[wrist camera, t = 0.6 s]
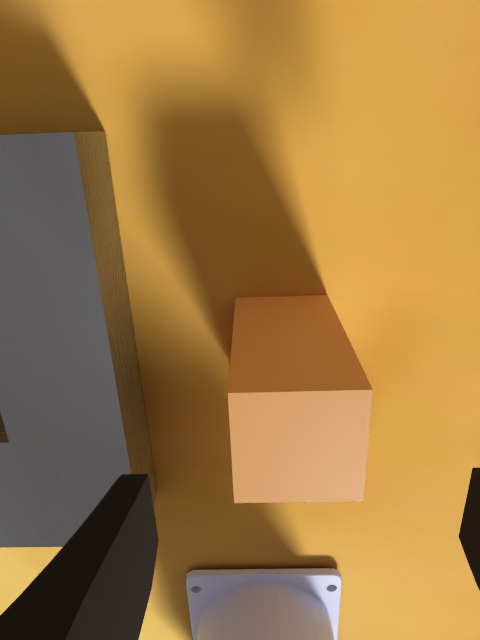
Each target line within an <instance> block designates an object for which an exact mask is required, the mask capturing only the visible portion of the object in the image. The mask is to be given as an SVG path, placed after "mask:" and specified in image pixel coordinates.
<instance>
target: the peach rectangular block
mask: <svg viewBox="0 0 480 640" xmlns="http://www.w3.org/2000/svg"><path fill="white" fill-rule="evenodd" d="M372 394H373V389H372V387H371V385H370V383H369V381H368V379H367V376H366V374H365V372H364V370H363V368H362V366H361V364H360V362H359V360H358V358H357V356H356V354H355V351H354V349H353V347H352V345H351V343H350V341H349V339H348V337H347V335H346V333H345V331H344V328H343V326H342V324H341V322H340V320H339V318H338V316H337V314H336V312H335V310H334V308H333V306H332V303H331V301H330V299H329V297H328V295H304V296H271V297H238V298H235V309H234V322H233V334H232V347H231V359H230V371H229V384H228V406H229V424H230V441H231V459H232V476H233V494H234V503H272V502H336V501H363V496H364V485H365V474H366V462H367V451H368V440H369V428H370V417H371V405H372Z"/></svg>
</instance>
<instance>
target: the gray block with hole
mask: <svg viewBox="0 0 480 640" xmlns="http://www.w3.org/2000/svg"><path fill="white" fill-rule="evenodd" d="M122 474H148V475H149V481H150V488H151V495H152V501H153V505H154V501H155V497H156V493H157V490H156V483H155V476H154V469H153V462H152V455H151V449H150V442H149V435H148V428H147V421H146V414H145V407H144V400H143V393H142V386H141V379H140V372H139V365H138V358H137V351H136V344H135V337H134V330H133V323H132V316H131V309H130V302H129V295H128V288H127V281H126V274H125V267H124V260H123V253H122V246H121V239H120V233H119V226H118V219H117V212H116V205H115V198H114V191H113V184H112V177H111V170H110V163H109V156H108V149H107V142H106V135H105V131H97V132H56V133H33V134H9V135H0V547H63V546H64V545H65V544H66V543H67V542H68V540H69V539H70V538H71V537H72V536H73V534H74V533H75V532H76V531H77V530H78V528H79V527H80V526H81V525H82V524H83V522H84V521H85V520H86V519H87V517H88V516H89V515H90V513H91V512H92V511H93V510H94V508H95V507H96V506H97V505H98V503H99V502H100V501H101V499H102V498H103V497H104V496H105V494H106V493H107V492H108V490H109V489H110V488H111V486H112V485H113V484H114V482H115V481H116V480H117V479H118V478H119V477H120V476H121V475H122Z"/></svg>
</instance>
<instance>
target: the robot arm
mask: <svg viewBox="0 0 480 640" xmlns="http://www.w3.org/2000/svg"><path fill="white" fill-rule="evenodd" d="M459 538H460V541H461V544H462V547H463V549H464V552H465V555H466V558H467V560H468V563H469V566H470V568H471V571H472V573H473V576H474V578H475V581H476V583H477V586H478V588H479V590H480V468H473V469H472V474H471V479H470V484H469V489H468V494H467V499H466V504H465V508H464V513H463V518H462V523H461V528H460V533H459ZM157 547H158V535H157V528H156V521H155V515H154V508H153V501H152V495H151V488H150V481H149V475H148V474H122V475H121V476H120V477H119V478H118V479H117V480H116V481H115V482H114V484H113V485H112V486H111V488H110V489H109V490H108V492H107V493H106V494H105V496H104V497H103V498H102V499H101V501H100V502H99V503H98V505H97V506H96V507H95V508H94V510H93V511H92V512H91V513H90V515H89V516H88V517H87V519H86V520H85V521H84V522H83V524H82V525H81V526H80V527H79V528H78V530H77V531H76V532H75V533H74V534H73V536H72V537H71V538H70V539H69V540H68V542H67V543H66V544H65V545H64V546H63V548H62V549H61V550H60V551H59V552H58V554H57V555H56V556H55V557H54V558H53V559H52V561H51V562H50V563H49V564H48V565H47V566H46V567H45V568H44V569H43V571H42V572H41V573H40V574H39V575H38V576H37V577H36V578H35V579H34V580H33V582H32V583H31V584H30V585H29V586H28V587H27V588H26V589H25V590H24V591H23V593H22V594H21V595H20V596H19V597H18V598H17V599H16V600H15V601H14V602H13V603H12V604H11V605H10V606H9V607H8V608H7V609H6V610H5V611H4V612H3V613H2V614H1V615H0V640H138V638H139V635H140V631H141V627H142V623H143V619H144V615H145V611H146V607H147V603H148V599H149V595H150V591H151V587H152V580H153V574H154V568H155V561H156V554H157ZM341 585H342V579H341V574H340V572H339V571H338V570H336V569H334V568H304V569H218V570H192V571H190V572H188V574H187V577H186V588H187V596H188V604H189V612H190V620H191V628H192V636H193V640H338V627H339V613H340V599H341Z"/></svg>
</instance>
